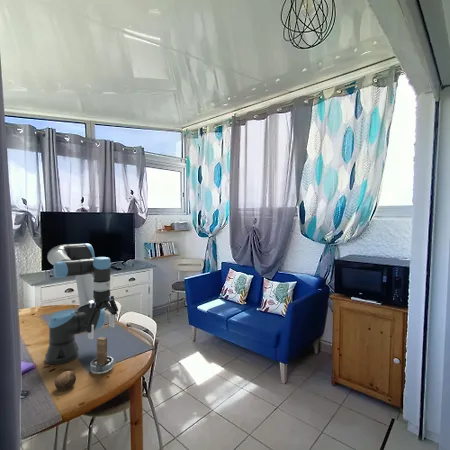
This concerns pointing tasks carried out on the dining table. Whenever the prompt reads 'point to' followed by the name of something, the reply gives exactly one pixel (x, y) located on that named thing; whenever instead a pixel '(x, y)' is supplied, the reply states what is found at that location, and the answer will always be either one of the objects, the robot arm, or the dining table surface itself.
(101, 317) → the robot arm
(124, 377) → the dining table surface
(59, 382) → the brown oval lump
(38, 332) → the dining table surface
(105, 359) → the brown wooden block
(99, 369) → the tin
